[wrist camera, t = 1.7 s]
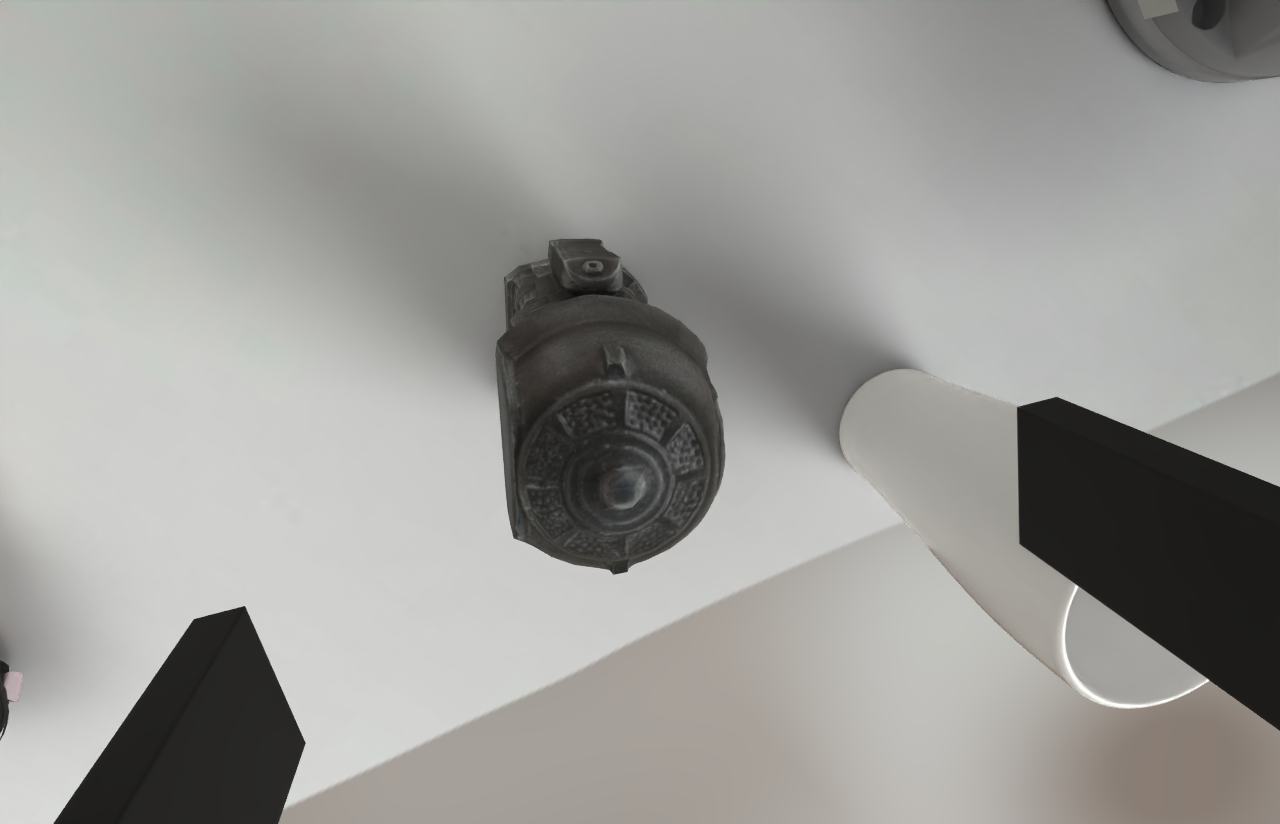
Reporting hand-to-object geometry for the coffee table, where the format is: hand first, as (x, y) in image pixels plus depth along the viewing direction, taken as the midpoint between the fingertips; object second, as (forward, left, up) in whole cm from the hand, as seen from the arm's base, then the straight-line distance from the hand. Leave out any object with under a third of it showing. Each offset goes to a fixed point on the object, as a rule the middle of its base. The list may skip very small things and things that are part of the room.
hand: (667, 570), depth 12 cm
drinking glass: (-13, +7, -19) cm, 24 cm away
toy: (0, 0, -19) cm, 19 cm away
